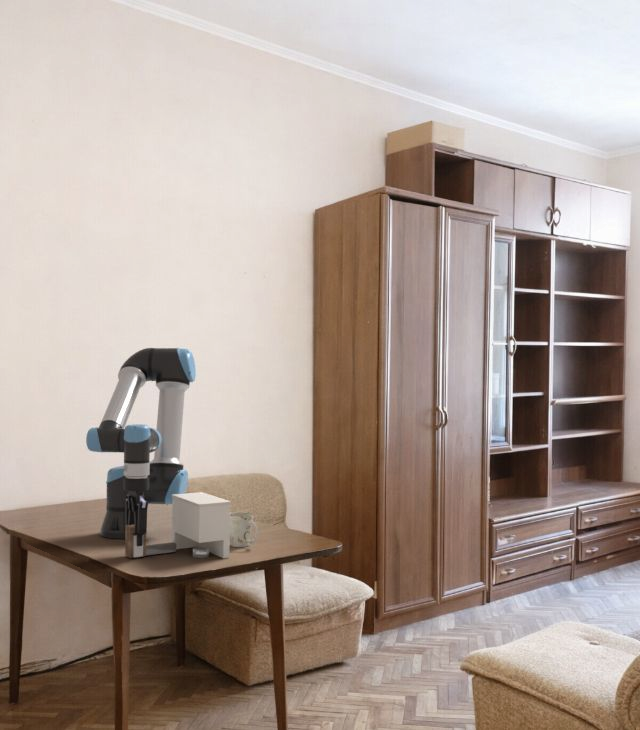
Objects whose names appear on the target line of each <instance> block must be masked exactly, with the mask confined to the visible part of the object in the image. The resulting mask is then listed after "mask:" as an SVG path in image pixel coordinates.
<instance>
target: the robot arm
mask: <svg viewBox="0 0 640 730" xmlns="http://www.w3.org/2000/svg"><path fill="white" fill-rule="evenodd" d="M196 376H197V375H196V363H195V358H194V354H193V353H192V351H191V350H190V349H188V348H180V347H175V348H174V347H171V348H170V347H168V348H167V347H163V348H161V347H147V348H146V347H145V348H142V349H141V350H138V351H136V352H135V353H133V354H132V355H130V357H128V358H127V359H126V360H125V361H124V362H123V364H122V365H121V366H120V369H119V371H118V374H117V378H118V381H117V383H116V386H115V389H114V391H113V393H112V394H111V395H112V396H111V397H110V400H109V403H108V405H107V407H106V410H105V412H104V414H103V417H102V419H101V421H100V424H99V426H98V427H97V426H96V427H91V428H89V429H88V431H87V433H86V439H85V442H86V443H85V444H86V447H87V450H89V452H94V453H95V452H96V453H121V454H122V453H123V465H120V466H119V465H118V466H114V467H111V468H110V469H109V470H108V471H107V474H106V477H107V478H106V508H105V509H106V510H105V514H104V518H103V521H102V524H101V527H100V536H101V537H102V538H107V539H125V530H126V525H133V524H135V533H134V534H133V536H134V546H133V557H135V558H141V556H143V535H144V534H146V535H147V531H148V530H147V527H148V507H149V506H148V505H166V506H168V505H173V497H172V495H173V494H185V493H187V489H188V482H189V473H188V471H187V470H186V469H184V463H183V462H181V460H180V456H181V443H182V431H183V416H184V407H185V405H184V404H185V392H186V391H187V390H188V389H189V388H190V384H191V383H193V382H195V381H196ZM147 382H155V386H156V388H158V391H159V392H158V393H159V395H158V404H157V405H158V407H157V418H156V429H155V428H153V427H150V426H149V425H148V424H141V423H140V424H137V423H136V424H127V422H128V419H129V417H130V414H131V412H132V410H133V406H134V404H135V402H136V399H137V397H138V394H139V391H140V389H141V388H142V387H144V386H145V384H146V383H147ZM153 452H154V453H153ZM150 453H153V455H154V456H153V459H152V460H150V458H151V455H150ZM143 557H144V556H143Z"/></svg>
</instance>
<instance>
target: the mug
mask: <svg viewBox="0 0 640 730" xmlns="http://www.w3.org/2000/svg"><path fill="white" fill-rule="evenodd" d="M252 528H253V530H254V537H253V538H252V539H251V535H252ZM258 538H259V528H258V526H257V524H256V523H255V522H254V513H253V512H247V511H234V512H230V547H233V548H246V547H249V546H250V544H253V543H254V542H256V541H257V540H258Z"/></svg>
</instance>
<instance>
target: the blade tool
mask: <svg viewBox="0 0 640 730" xmlns="http://www.w3.org/2000/svg"><path fill="white" fill-rule="evenodd" d="M134 533H135V524H133V525H126V530H125V538H124V539H125V542H124V544H125V545H124V549H125V550H124V555H125V557H128V558H129V559H133V558H136V557H133V546H134V536H133V534H134ZM174 552H175V553H177V549H176V543H174V542H172V541H171V542H164V543H155V544H148V545H147V533H146V534H144V535H143V556H141V557H146V556H153V555H159V554H161V555H162V554H167V553H174ZM141 557H140V558H141Z"/></svg>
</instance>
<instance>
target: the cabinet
mask: <svg viewBox="0 0 640 730" xmlns="http://www.w3.org/2000/svg"><path fill="white" fill-rule="evenodd" d="M172 497H173V504H172V510H171V511H172V515H171V516H172V517H171V519H172V523H171V524H172V526H171V542H174V543H176V550H180V549H188V548H195V547H208V548H210V549H209V553H211V554H213V555H215V556H217V557H218V558H219V557H220V558H221V559H228V558H230V552H231V551H230V547H231V545H230V513H231V505H232V501H230V500H227V499H224V498H222V497H217V496H215V495H212V494H209V493H206V492H203V491H200V492H189V493H188V492H186V493H185V494H173V495H172Z"/></svg>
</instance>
